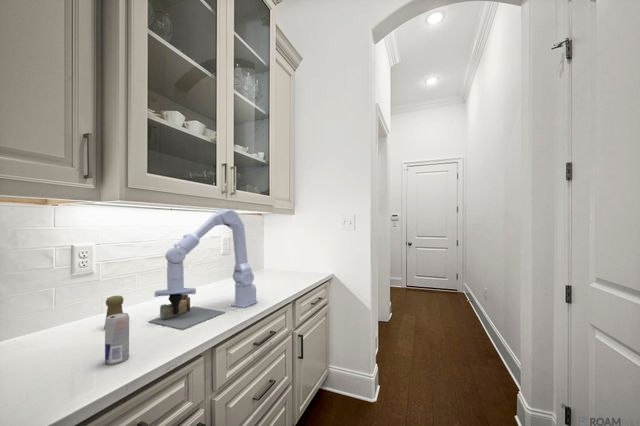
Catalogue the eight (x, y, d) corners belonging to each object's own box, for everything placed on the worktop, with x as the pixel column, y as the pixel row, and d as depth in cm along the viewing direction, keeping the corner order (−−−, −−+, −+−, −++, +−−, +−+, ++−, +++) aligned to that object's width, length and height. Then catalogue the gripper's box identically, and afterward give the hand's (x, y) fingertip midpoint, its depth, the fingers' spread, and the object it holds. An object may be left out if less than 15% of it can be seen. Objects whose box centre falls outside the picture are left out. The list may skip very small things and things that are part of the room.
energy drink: (113, 355, 79) (113, 313, 79) (133, 354, 79) (133, 312, 80) (99, 365, 73) (100, 319, 74) (121, 364, 74) (121, 318, 74)
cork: (113, 330, 98) (114, 299, 98) (99, 329, 99) (99, 298, 99) (128, 324, 104) (129, 294, 104) (115, 323, 105) (115, 293, 105)
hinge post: (184, 310, 119) (184, 294, 119) (188, 311, 118) (188, 294, 118) (179, 312, 117) (179, 295, 117) (183, 313, 116) (183, 296, 116)
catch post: (163, 318, 110) (163, 305, 110) (166, 318, 109) (166, 305, 109) (160, 319, 108) (160, 306, 108) (162, 320, 107) (162, 307, 108)
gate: (191, 310, 117) (191, 297, 117) (163, 319, 105) (163, 305, 106) (188, 309, 117) (188, 297, 118) (160, 318, 106) (160, 305, 106)
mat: (193, 307, 123) (193, 306, 123) (225, 312, 115) (225, 311, 115) (148, 322, 105) (148, 321, 105) (182, 330, 97) (182, 329, 97)
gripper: (197, 275, 114) (198, 309, 114) (159, 277, 111) (159, 311, 111) (193, 279, 107) (193, 314, 107) (152, 281, 104) (152, 317, 104)
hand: (175, 313), depth 108 cm, fingers closed
